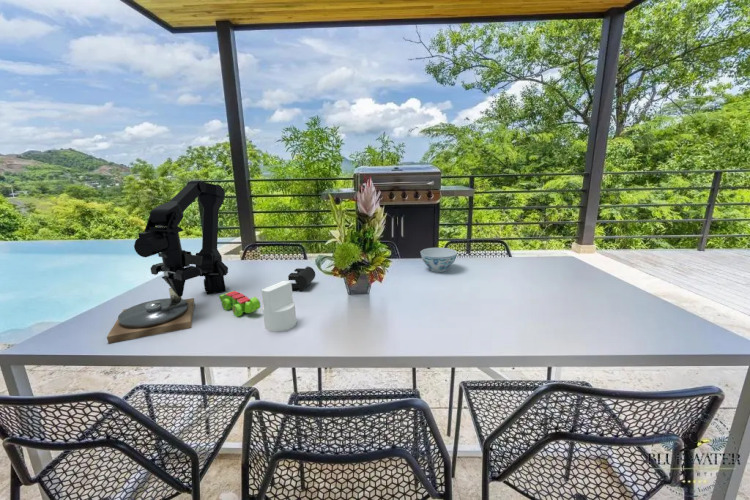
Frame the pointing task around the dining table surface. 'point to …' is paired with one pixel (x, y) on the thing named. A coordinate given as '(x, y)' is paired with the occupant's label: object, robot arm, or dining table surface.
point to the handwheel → (154, 312)
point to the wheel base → (152, 327)
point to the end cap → (301, 278)
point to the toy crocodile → (239, 303)
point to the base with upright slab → (278, 307)
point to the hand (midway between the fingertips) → (180, 296)
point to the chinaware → (438, 258)
